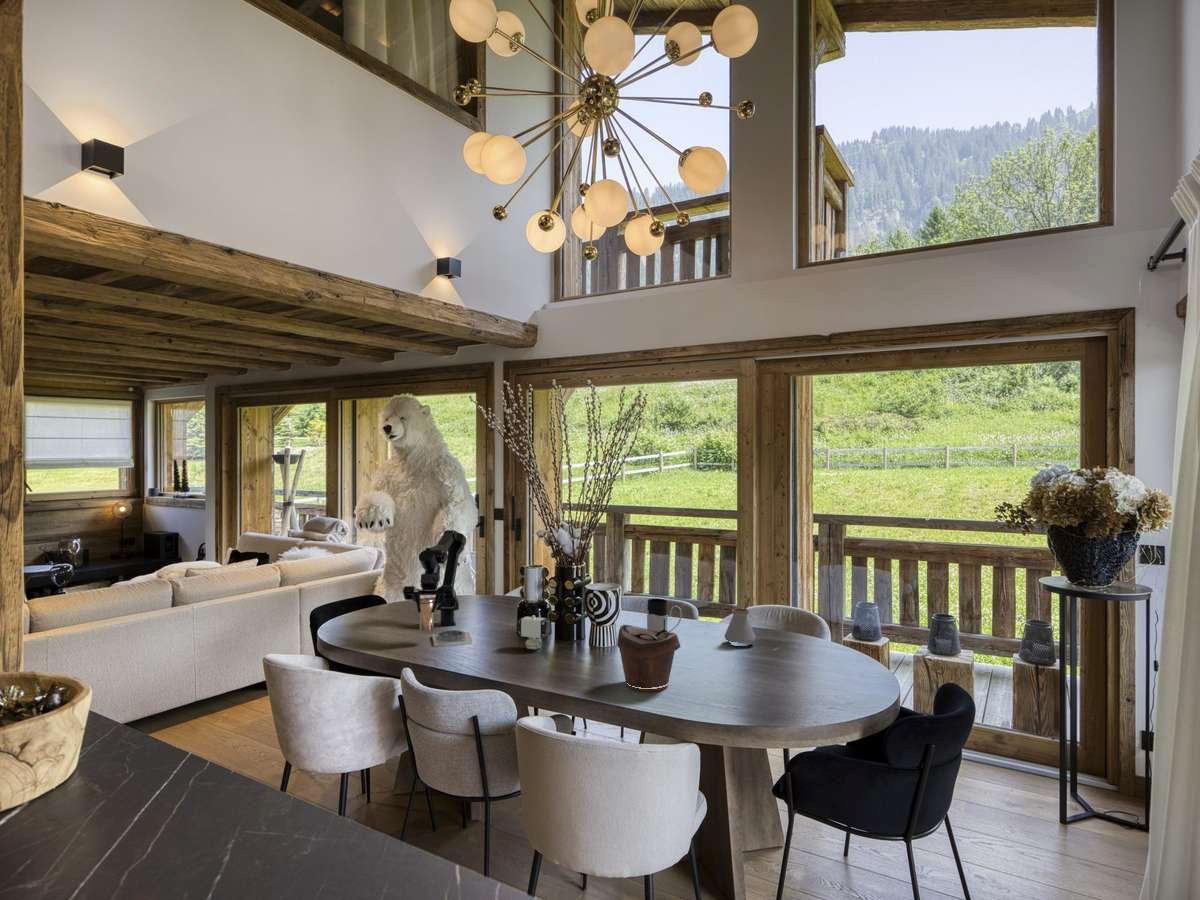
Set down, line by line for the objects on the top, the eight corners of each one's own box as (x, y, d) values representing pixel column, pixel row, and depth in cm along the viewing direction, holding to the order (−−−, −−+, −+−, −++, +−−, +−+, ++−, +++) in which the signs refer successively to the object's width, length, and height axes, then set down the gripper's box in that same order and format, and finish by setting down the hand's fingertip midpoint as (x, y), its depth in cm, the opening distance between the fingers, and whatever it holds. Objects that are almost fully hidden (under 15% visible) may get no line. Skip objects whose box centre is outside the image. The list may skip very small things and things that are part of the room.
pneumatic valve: (545, 651, 248) (545, 618, 248) (516, 648, 252) (516, 615, 252) (551, 647, 253) (551, 614, 253) (522, 644, 257) (522, 612, 257)
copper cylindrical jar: (419, 627, 260) (419, 598, 260) (433, 626, 261) (433, 597, 261) (419, 631, 255) (419, 601, 255) (433, 630, 256) (434, 600, 256)
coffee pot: (751, 650, 251) (751, 609, 251) (720, 646, 256) (720, 605, 256) (764, 636, 270) (764, 598, 271) (735, 633, 275) (735, 595, 276)
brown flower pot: (690, 691, 206) (689, 631, 206) (627, 698, 200) (626, 636, 201) (667, 674, 223) (667, 619, 224) (608, 680, 217) (608, 623, 218)
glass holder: (650, 635, 271) (650, 597, 271) (685, 640, 265) (685, 601, 265) (642, 641, 263) (642, 601, 263) (677, 645, 257) (677, 605, 257)
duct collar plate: (432, 636, 268) (432, 630, 268) (468, 634, 271) (468, 628, 271) (434, 646, 254) (434, 639, 254) (472, 643, 258) (472, 636, 258)
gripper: (403, 565, 261) (397, 600, 250) (453, 564, 262) (448, 600, 251) (408, 581, 269) (401, 616, 258) (456, 581, 270) (452, 616, 259)
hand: (426, 612), depth 256 cm, fingers closed on copper cylindrical jar, 5 cm apart
